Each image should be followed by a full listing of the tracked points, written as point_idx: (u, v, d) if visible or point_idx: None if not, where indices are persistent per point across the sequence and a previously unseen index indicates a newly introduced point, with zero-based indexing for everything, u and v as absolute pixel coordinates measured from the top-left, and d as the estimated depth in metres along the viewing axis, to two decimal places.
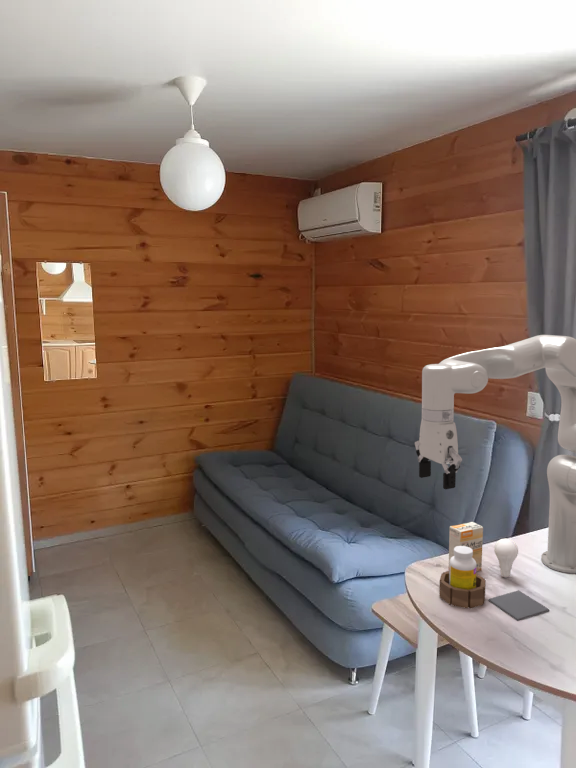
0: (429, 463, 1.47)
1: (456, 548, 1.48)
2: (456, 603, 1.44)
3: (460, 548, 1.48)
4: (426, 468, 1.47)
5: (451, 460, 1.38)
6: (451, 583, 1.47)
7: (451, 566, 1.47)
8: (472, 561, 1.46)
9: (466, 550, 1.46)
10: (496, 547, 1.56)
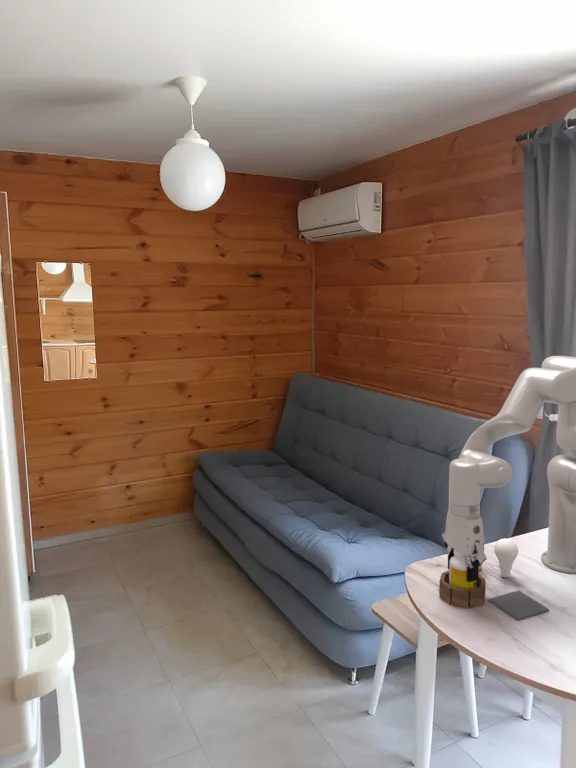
0: None
1: None
2: (456, 603, 1.44)
3: None
4: None
5: (476, 554, 1.44)
6: (451, 583, 1.47)
7: (451, 566, 1.47)
8: (472, 561, 1.46)
9: None
10: (496, 547, 1.56)
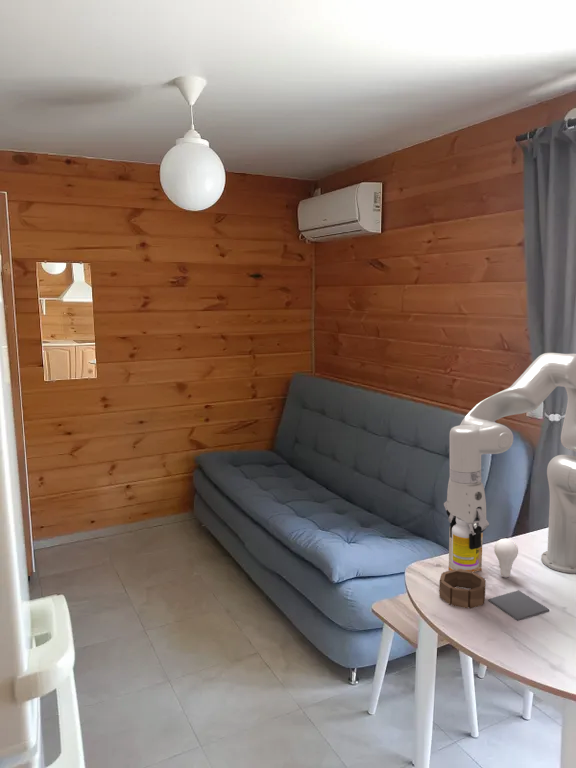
0: None
1: None
2: (456, 603, 1.44)
3: None
4: None
5: (478, 521, 1.42)
6: (454, 551, 1.46)
7: (453, 534, 1.46)
8: None
9: None
10: (496, 547, 1.56)
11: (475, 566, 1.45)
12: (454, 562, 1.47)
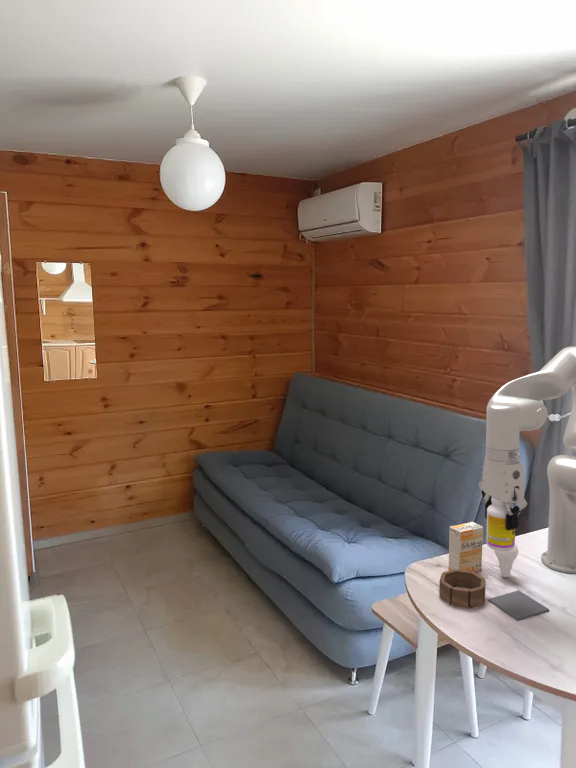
0: None
1: None
2: (456, 603, 1.44)
3: None
4: None
5: (515, 501, 1.38)
6: (489, 532, 1.42)
7: (489, 514, 1.41)
8: None
9: None
10: None
11: (511, 548, 1.41)
12: (489, 543, 1.42)
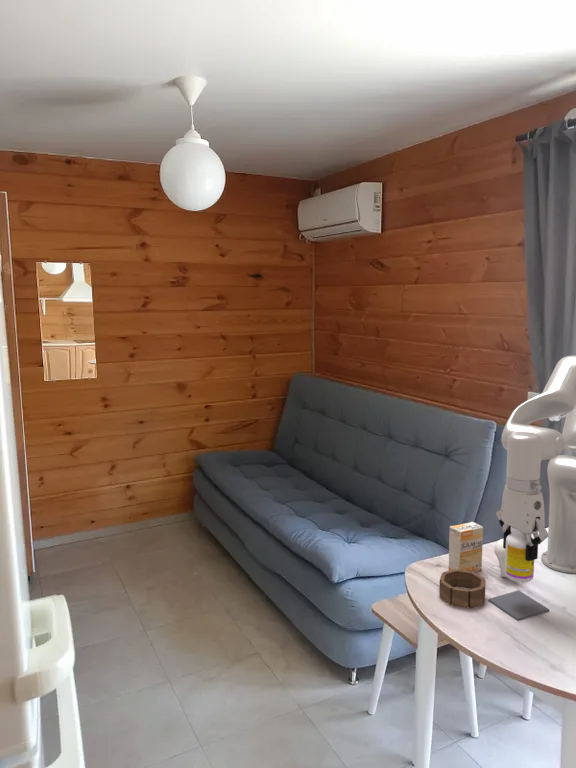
0: None
1: None
2: (456, 603, 1.44)
3: None
4: None
5: (535, 532, 1.37)
6: (508, 562, 1.41)
7: (508, 544, 1.40)
8: None
9: None
10: (496, 547, 1.56)
11: (530, 578, 1.40)
12: (508, 574, 1.41)
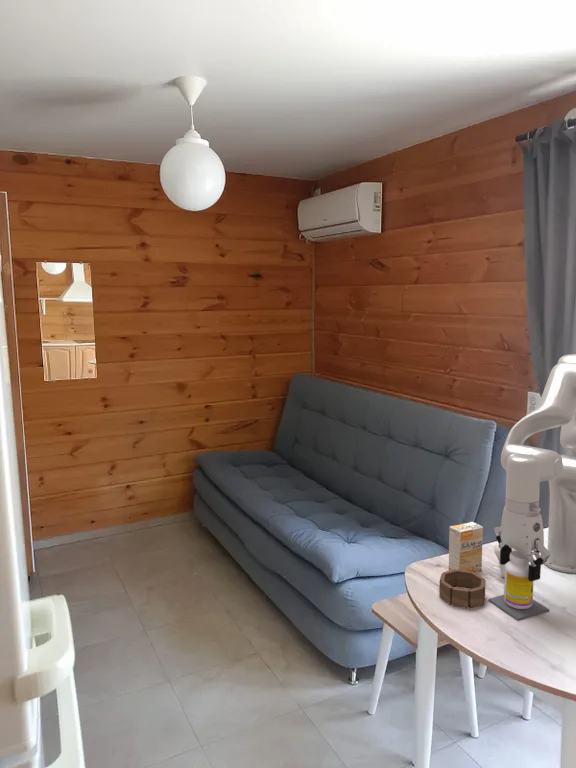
0: (510, 550, 1.46)
1: (512, 553, 1.43)
2: (456, 603, 1.44)
3: (516, 553, 1.43)
4: (507, 555, 1.46)
5: (537, 552, 1.38)
6: (507, 589, 1.42)
7: (507, 572, 1.42)
8: None
9: (523, 555, 1.42)
10: (496, 547, 1.56)
11: (529, 605, 1.41)
12: (507, 601, 1.43)
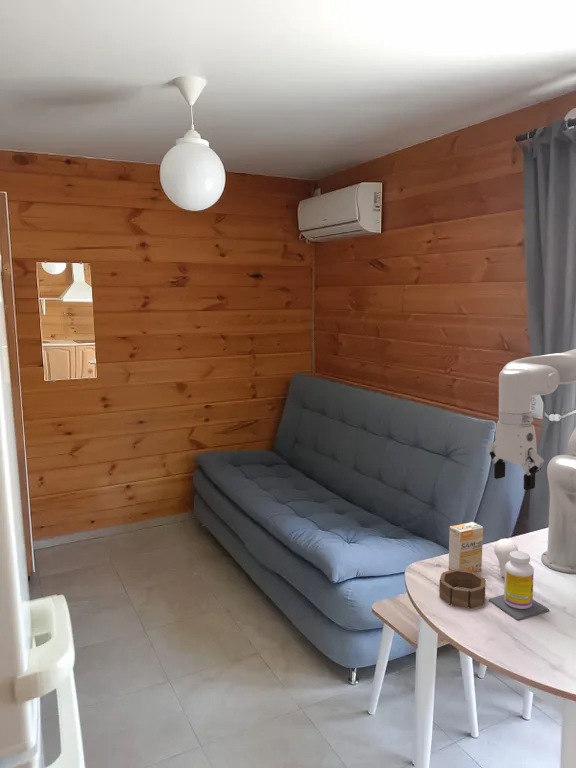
0: (503, 464, 1.50)
1: (512, 553, 1.43)
2: (456, 603, 1.44)
3: (516, 553, 1.43)
4: (501, 469, 1.50)
5: (531, 461, 1.42)
6: (507, 589, 1.42)
7: (507, 572, 1.42)
8: (529, 567, 1.41)
9: (523, 555, 1.42)
10: (496, 547, 1.56)
11: (529, 605, 1.41)
12: (507, 601, 1.43)
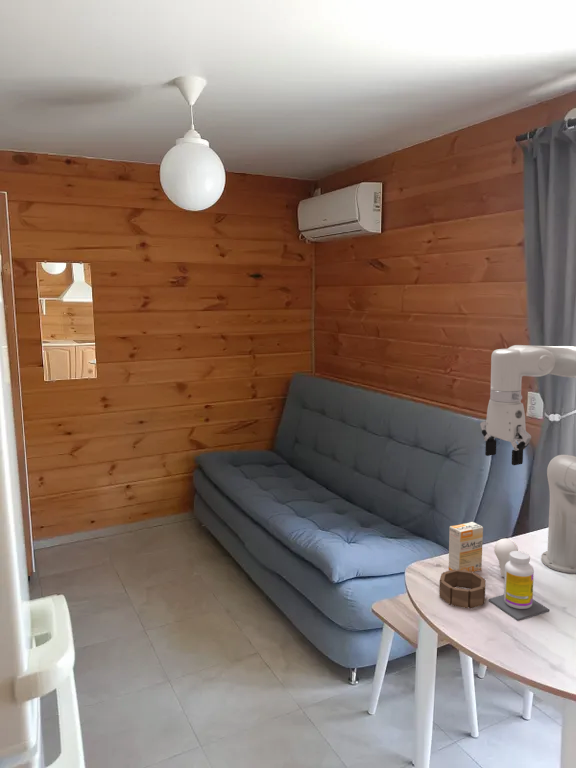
0: (495, 442, 1.57)
1: (512, 553, 1.43)
2: (456, 603, 1.44)
3: (516, 553, 1.43)
4: (492, 447, 1.57)
5: (519, 438, 1.48)
6: (507, 589, 1.42)
7: (507, 572, 1.42)
8: (529, 567, 1.41)
9: (523, 555, 1.42)
10: (496, 547, 1.56)
11: (529, 605, 1.41)
12: (507, 601, 1.43)
